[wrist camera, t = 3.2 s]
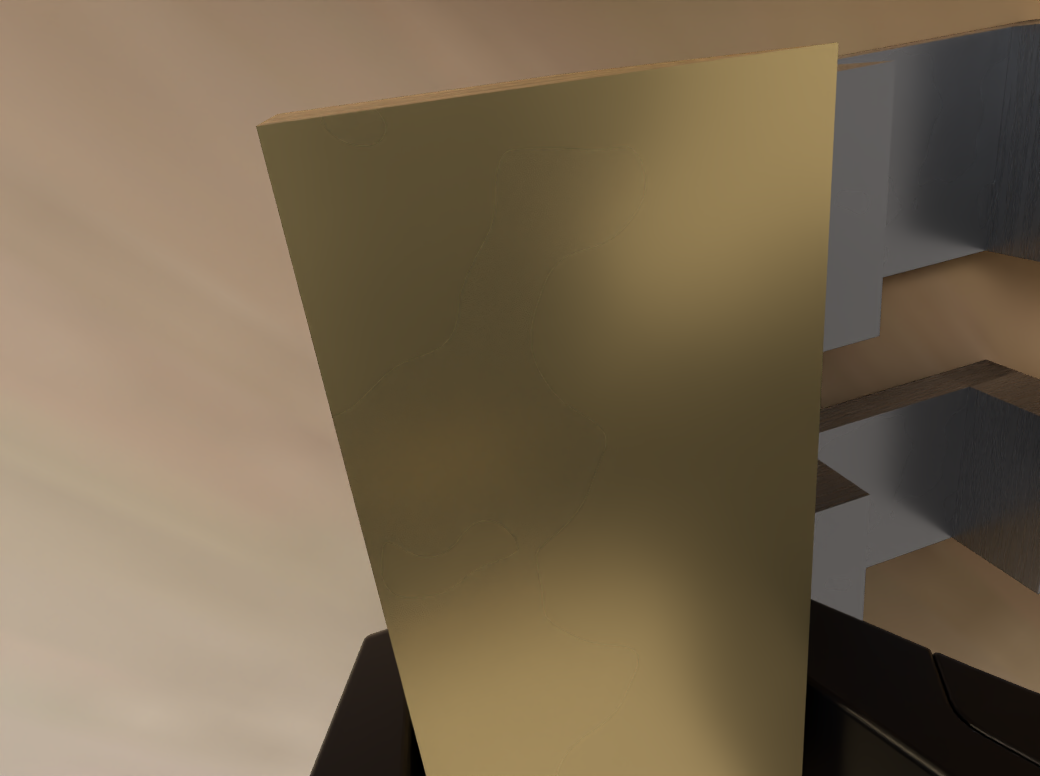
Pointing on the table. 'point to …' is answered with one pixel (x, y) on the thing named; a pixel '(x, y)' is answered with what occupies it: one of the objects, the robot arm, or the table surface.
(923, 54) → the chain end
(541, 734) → the tan rectangular block
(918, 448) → the bracket
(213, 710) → the table surface
